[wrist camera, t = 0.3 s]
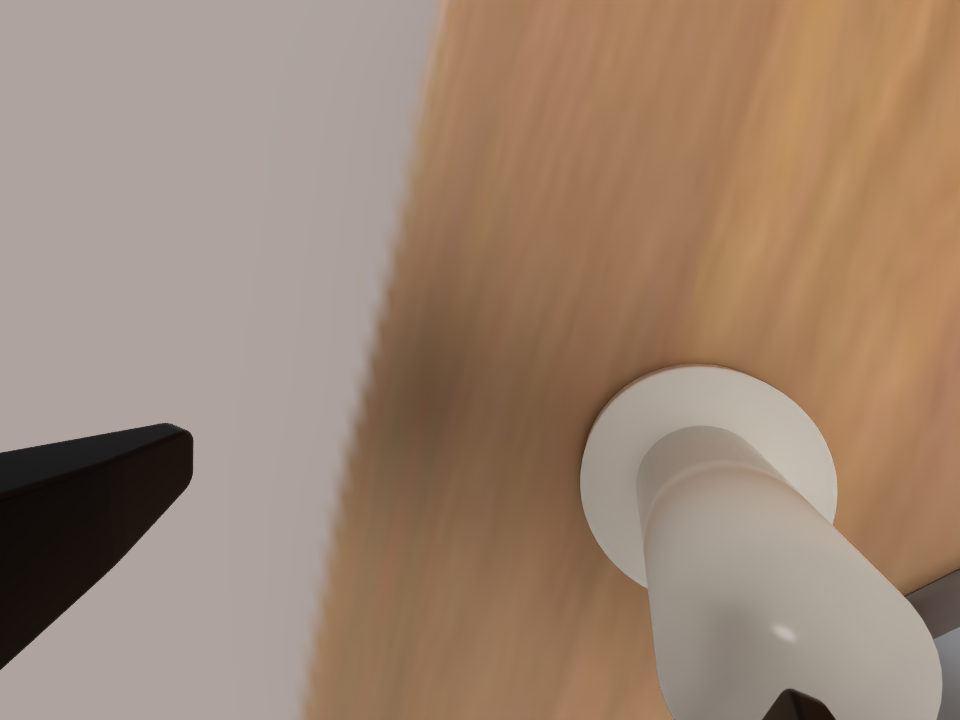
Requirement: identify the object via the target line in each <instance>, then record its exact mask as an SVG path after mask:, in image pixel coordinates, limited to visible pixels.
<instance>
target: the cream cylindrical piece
mask: <svg viewBox="0 0 960 720" xmlns="http://www.w3.org/2000/svg"><path fill="white" fill-rule="evenodd" d="M580 491H581V500H582V505H583V509H584V513H585V517H586V519H587V522H588V524H589V527H590V530H591V531H592V533H593V535H594V537H595V539H596V541H597V543H598V544H599V545H600V547H601V548H602V550H603V551H604V552H605V554H606V555H607V556H608V558H609V559H610V560H611V561H612V562H613V563H614V564H615V565H616V566H617V567H618V568H619V569H620V570H621V571H622V572H624V573H625V574H626V575H627V576H628V577H629V578H631V579H632V580H634V581H635V582H637V583H638V584H640V585H641V586H643V587H645V588H647V589H648V596H649V605H650V613H651V622H652V631H653V640H654V648H655V657H656V666H657V675H658V679H659V684H660V688H661V692H662V694H663V697H664V699H665V702H666V705H667V707H668V709H669V711H670V713H671V714H672V716H673V718H674V720H762V719H763V717H764V716H765V715H766V713H767V712H768V710H769V709H770V707H771V706H772V705H773V703H774V702H775V700H776V699H777V698H778V696H779V695H780V694H781V692H782V691H783V690H785V689H788V688H792V689H795V690H798V691H800V692H802V693H805V694H807V695H810V696H812V697H814V698H817V699H819V700H820V701H822V702H823V703H824V704H825V705H826V706H827V707H828V709H829V710H830V712H831V713H832V714H833V716H834V717H835V719H836V720H937V716H938V712H939V709H940V705H941V697H942V687H943V685H942V670H941V665H940V660H939V656H938V651H937V649H936V646H935V644H934V641H933V638H932V636H931V634H930V632H929V630H928V628H927V626H926V625H925V623H924V621H923V619H922V618H921V616H920V615H919V614H918V612H917V611H916V610H915V608H914V607H913V606H912V604H911V603H910V602H909V601H908V600H907V599H906V598H905V597H904V596H903V595H902V594H901V593H900V592H899V591H898V590H897V589H896V588H895V587H894V586H893V585H892V584H891V583H890V582H889V581H888V580H887V579H886V578H885V577H884V576H883V575H882V574H881V573H880V572H879V571H878V570H877V569H876V568H875V567H874V566H873V565H872V564H871V563H870V562H869V561H868V560H867V559H866V558H865V557H864V556H863V555H862V554H861V553H860V552H859V551H858V550H857V549H856V548H855V547H854V546H853V545H852V544H851V543H850V542H849V541H848V540H847V539H846V538H845V537H844V536H843V535H842V534H841V533H840V532H839V531H838V530H837V529H836V528H835V527H834V526H833V521H834V517H835V512H836V508H837V494H838V490H837V477H836V472H835V467H834V463H833V459H832V456H831V454H830V451H829V448H828V446H827V443H826V442H825V440H824V438H823V436H822V435H821V433H820V431H819V429H818V428H817V426H816V425H815V424H814V423H813V421H812V420H811V419H810V417H809V416H808V415H807V414H806V413H805V412H804V411H803V410H802V409H801V408H800V407H799V406H798V405H797V404H796V403H795V402H794V401H792V400H791V399H790V398H789V397H787V396H786V395H785V394H783V393H782V392H780V391H779V390H777V389H775V388H774V387H772V386H770V385H768V384H767V383H765V382H763V381H760V380H758V379H756V378H754V377H752V376H750V375H747V374H745V373H743V372H740V371H738V370H734V369H731V368H727V367H724V366H718V365H711V364H694V363H692V364H681V365H674V366H669V367H665V368H661V369H658V370H655V371H652V372H650V373H647V374H645V375H643V376H641V377H639V378H637V379H635V380H634V381H632V382H631V383H629V384H628V385H626V386H625V387H623V388H622V389H621V390H620V391H619V392H618V393H616V394H615V395H614V396H613V397H612V398H611V399H610V400H609V402H608V403H607V404H606V405H605V406H604V407H603V409H602V410H601V412H600V413H599V415H598V417H597V418H596V420H595V422H594V424H593V426H592V428H591V430H590V433H589V436H588V439H587V442H586V446H585V450H584V455H583V460H582V466H581V472H580Z"/></svg>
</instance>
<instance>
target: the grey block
mask: <svg viewBox="0 0 960 720" xmlns="http://www.w3.org/2000/svg"><path fill="white" fill-rule="evenodd" d="M905 598H906V599H907V600H908V601H909V602H910V603H911V604H912V606H913V607H914V608H915V610H916V611H917V612H918V614H919V615H920V616H921V618H922V619H923V621H924V623H925V625H926V626H927V628H928V630H929V632H930V634H931V636H932V638H933V641H934V644H935V646H936V649H937V651H938V656H939V660H940V665H941V670H942V685H943V687H942V697H941V705H940V709H939V712H938V716H937V720H960V569H959V570H957V571H955V572H953V573H951V574H949V575H947V576H945V577H943V578H941V579H939V580H937V581H935V582H933V583H931V584H929V585H927V586H925V587H923V588H921V589H919V590H917V591H915V592H913V593H911V594H909V595H907V596H905Z"/></svg>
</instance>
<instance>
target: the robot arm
mask: <svg viewBox="0 0 960 720" xmlns="http://www.w3.org/2000/svg"><path fill="white" fill-rule="evenodd" d="M192 475H193V437H192V435H191V433H190V432H189V431H187V430H185V429H182V428H180V427H177V426H175V425H173V424H169V423H162V424H157V425H151V426H145V427H140V428H134V429H129V430H123V431H118V432H112V433H107V434H101V435H96V436H90V437H85V438H80V439H74V440H68V441H63V442H58V443H52V444H46V445H41V446H35V447H30V448H24V449H19V450H13V451H8V452H2V453H0V670H1V669H2V668H3V667H4V666H5V665H6V664H8V663H9V662H10V661H11V660H12V659H13V658H14V657H15V656H16V655H17V654H19V653H20V652H21V651H22V650H23V649H24V648H25V647H26V646H27V645H29V644H30V643H31V642H32V641H33V640H34V639H35V638H36V637H37V636H38V635H39V634H40V633H42V632H43V630H45V629H46V628H47V627H48V626H49V625H51V624H52V623H53V622H54V621H55V620H56V619H57V618H58V617H59V616H60V615H61V614H63V612H65V611H66V610H67V609H68V608H69V607H70V606H71V605H73V604H74V603H75V602H76V601H77V600H78V599H79V598H80V597H81V596H82V595H84V594H85V593H86V592H87V591H88V590H89V589H90V588H91V587H92V586H93V585H94V584H96V583H97V582H98V581H99V580H100V579H101V578H102V577H103V576H104V575H105V574H106V573H107V572H109V571H110V569H112V568H113V567H114V566H115V565H116V564H117V563H118V562H119V561H120V559H122V558H123V556H125V555H126V554H127V552H128V551H129V550H130V549H131V548H132V547H133V546H134V545H135V544H136V543H137V541H138V540H139V539H140V538H141V537H142V536H143V535H144V534H145V533H146V532H147V531H148V530H149V529H150V527H151V526H152V525H153V524H154V523H155V522H156V521H157V520H158V519H159V518H160V517H161V515H162V514H163V513H164V512H165V511H166V510H167V509H168V508H169V507H170V506H171V505H172V503H173V502H174V501H175V500H176V499H177V498H178V497H179V496H180V495H181V494H182V493H183V492H184V490H185V489H186V488H187V486H188V485H189V483H190V481H191V478H192ZM762 720H836V719H835V717H834V716H833V714H832V713H831V712H830V710H829V709H828V707H827V706H826V705H825V704H824V703H823V702H822V701H820V700H819V699H817V698H814V697H812V696H810V695H807V694H805V693H802V692H800V691H798V690H795V689H792V688H788V689H785V690H783V691H782V692H781V694H780V695H779V696H778V698H777V699H776V700H775V702H774V703H773V705H772V706H771V707H770V709H769V710H768V712H767V713H766V715H765V716H764V717H763V719H762Z"/></svg>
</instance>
